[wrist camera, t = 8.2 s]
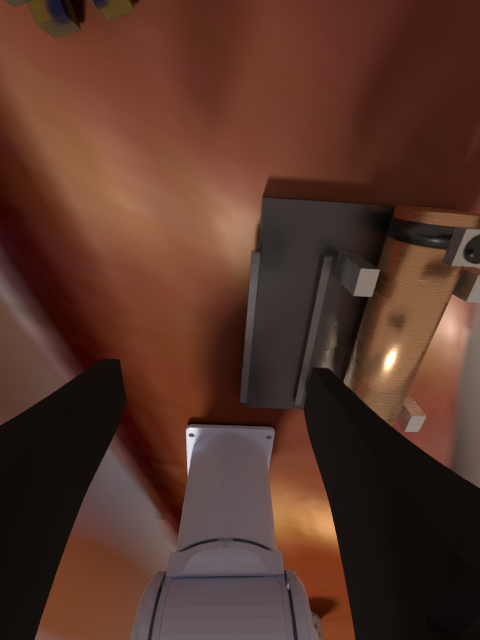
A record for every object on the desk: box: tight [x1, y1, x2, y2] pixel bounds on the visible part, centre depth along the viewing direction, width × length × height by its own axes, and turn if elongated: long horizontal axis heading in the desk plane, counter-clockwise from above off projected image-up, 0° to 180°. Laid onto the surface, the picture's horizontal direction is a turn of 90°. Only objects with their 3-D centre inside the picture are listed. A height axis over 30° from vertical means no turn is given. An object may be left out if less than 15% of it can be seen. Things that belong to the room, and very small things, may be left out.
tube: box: [343, 205, 480, 427], centre depth 18 cm, size 14×4×4 cm, turn 177°
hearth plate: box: [240, 196, 469, 410], centre depth 20 cm, size 16×12×2 cm
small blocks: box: [333, 251, 480, 432], centre depth 19 cm, size 12×7×4 cm, turn 177°
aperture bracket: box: [442, 226, 480, 267], centre depth 14 cm, size 2×4×6 cm, turn 86°
